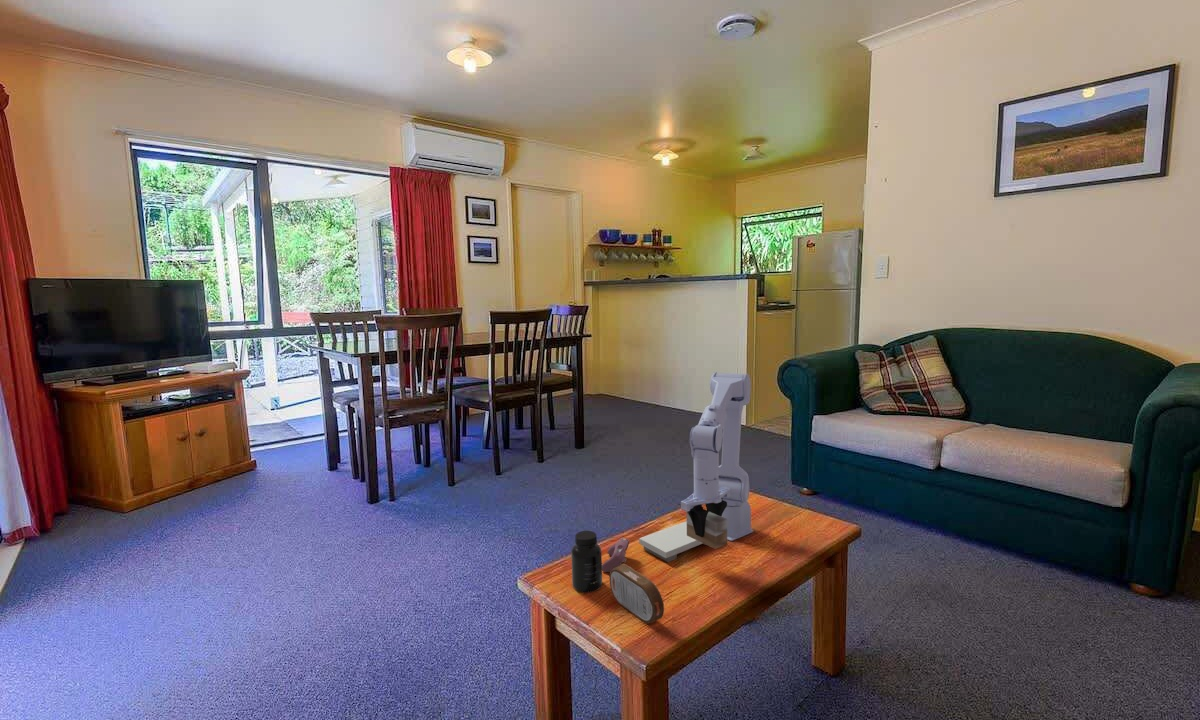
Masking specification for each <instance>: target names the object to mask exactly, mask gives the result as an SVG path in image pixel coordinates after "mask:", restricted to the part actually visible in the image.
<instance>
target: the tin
mask: <svg viewBox="0 0 1200 720" xmlns="http://www.w3.org/2000/svg"><path fill="white" fill-rule="evenodd" d="M609 586H610V590H611V593H612V595H613V597H614V599H615V601H616V602H617V603H618V604H619V605H620V606H622V608H624V609H625V610H627V612H629V613H631V614H632V615H633V616H635V617H636V618H637V619H638V620H640V621H641V622H642V623H644V624H647V625H649V624H652V623H654V622H656V621H657V620H661V619H662V617H663V616H664V614H665V613H664V612H665V605H664V600H663V597H662V594H661V592H660V591H659V589H658V587H657V586H656V584H655V583H654V582H653V581H652V580H651V579H649V578H647V577H646V576H645V575H643V574H642V573H640V572H639V571H636V570H635V569H634V568H633V567H631V566H629V565H628V564H627V563H626V564H625V563H621V565H619V566H618V567H616V568H614V569H612V570H611V571H610V572H609Z"/></svg>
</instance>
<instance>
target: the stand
mask: <svg viewBox="0 0 1200 720" xmlns="http://www.w3.org/2000/svg"><path fill="white" fill-rule="evenodd" d="M638 541H639V545H640V546H642V547H643V550H645V551H647V552H648V553H650V554H652V555H654V556H655V557H657V558H659V559H661V560H663V561H665V562H667V563H669V562H673V561H675V560H677V555H678V554H680V553H683V552H686V551H689V550H691V549H693V548H695V547H697V546H700V545H702V544H703V545H705V546H708V545H706V544H704V543H702V542H699V541H697V540H695V539H693V538H691V537H689V536H687V520H685V521H682V522H680V523H677V524H675V525H672V526H669V527H666V528H664V529H661V530H658V531H655V532H653V533H650V534H647V535H645V536H642V537H639V539H638ZM708 547H709V546H708Z"/></svg>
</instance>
